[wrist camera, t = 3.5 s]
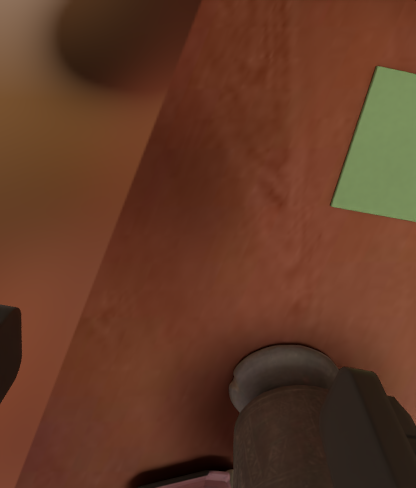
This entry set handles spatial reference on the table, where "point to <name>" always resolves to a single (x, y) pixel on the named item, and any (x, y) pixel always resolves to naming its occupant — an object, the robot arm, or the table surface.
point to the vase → (280, 418)
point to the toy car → (197, 480)
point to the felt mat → (383, 150)
